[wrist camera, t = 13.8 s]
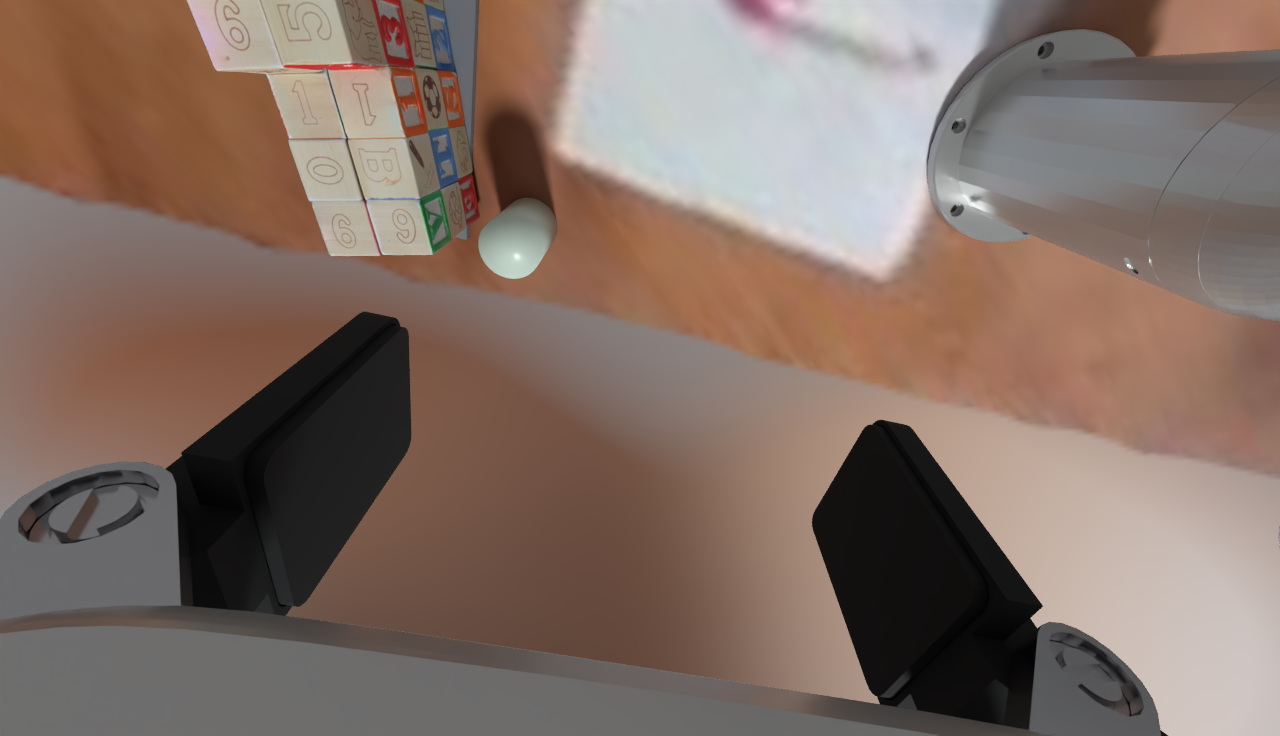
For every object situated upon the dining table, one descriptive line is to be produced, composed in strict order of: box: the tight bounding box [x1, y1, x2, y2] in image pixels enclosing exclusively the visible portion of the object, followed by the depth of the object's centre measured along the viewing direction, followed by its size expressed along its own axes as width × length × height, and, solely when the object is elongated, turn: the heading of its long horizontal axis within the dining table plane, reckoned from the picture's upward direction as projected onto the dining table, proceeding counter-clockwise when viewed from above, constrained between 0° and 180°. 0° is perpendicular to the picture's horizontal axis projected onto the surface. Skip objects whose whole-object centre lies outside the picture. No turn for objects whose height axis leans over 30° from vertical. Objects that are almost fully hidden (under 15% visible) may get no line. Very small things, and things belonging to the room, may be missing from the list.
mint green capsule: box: [479, 198, 557, 279], centre depth 33 cm, size 4×4×6 cm
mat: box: [443, 0, 479, 240], centre depth 30 cm, size 9×24×1 cm, turn 167°
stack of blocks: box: [187, 0, 480, 256], centre depth 25 cm, size 21×6×12 cm, turn 1°
